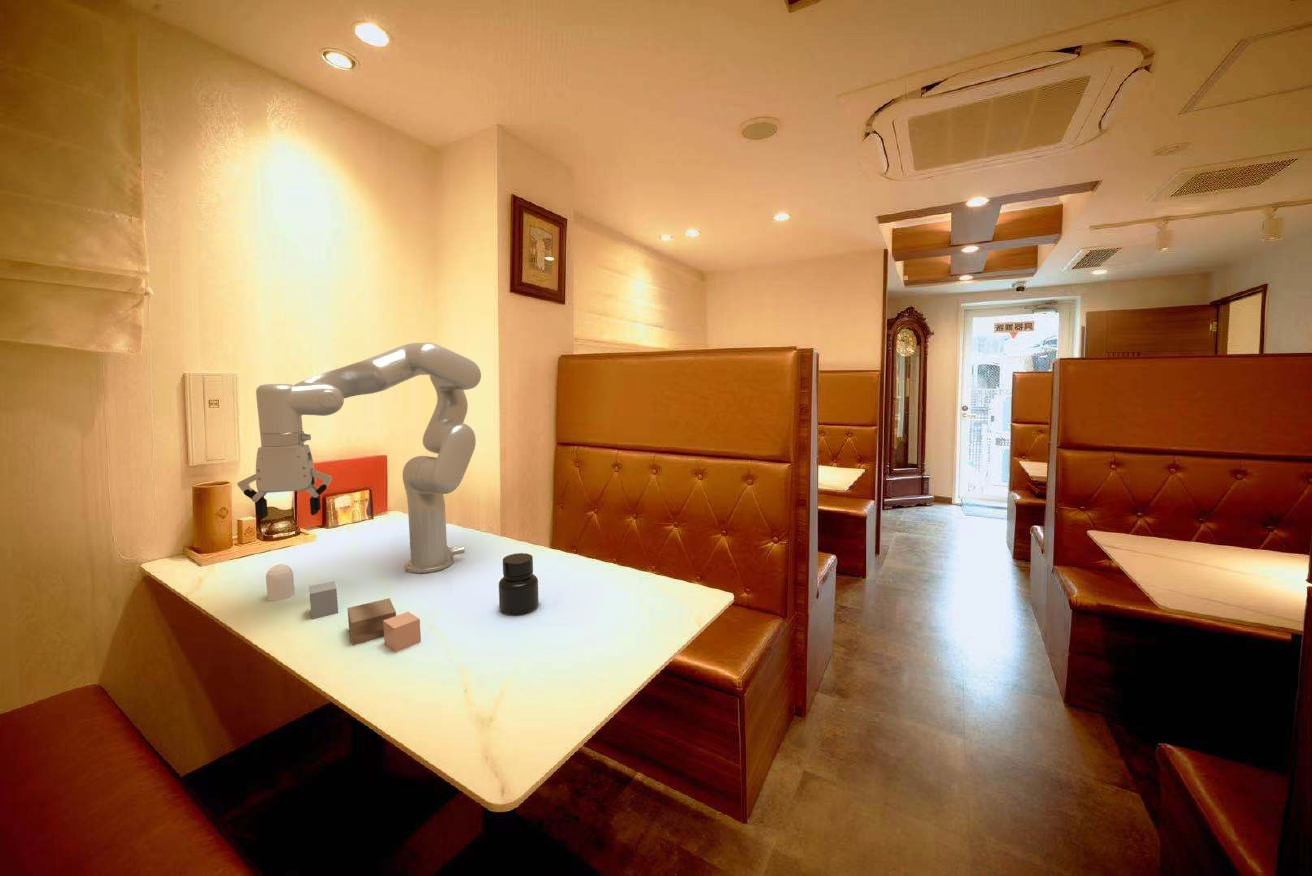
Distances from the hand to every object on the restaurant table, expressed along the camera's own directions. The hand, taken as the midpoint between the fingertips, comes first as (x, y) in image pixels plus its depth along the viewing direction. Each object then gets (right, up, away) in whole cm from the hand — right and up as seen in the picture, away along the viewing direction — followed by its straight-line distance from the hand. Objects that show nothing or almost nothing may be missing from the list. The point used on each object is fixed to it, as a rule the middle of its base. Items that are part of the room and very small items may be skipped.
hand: (289, 515), depth 110 cm
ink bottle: (+50, -23, +5) cm, 55 cm away
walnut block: (+22, -24, -6) cm, 33 cm away
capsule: (-10, -22, +10) cm, 26 cm away
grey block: (+6, -23, +2) cm, 24 cm away
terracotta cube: (+31, -24, -10) cm, 41 cm away
